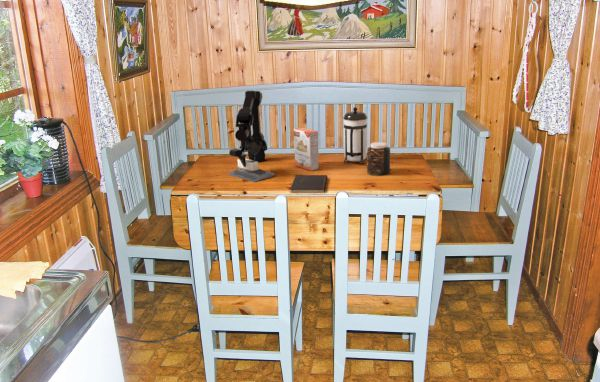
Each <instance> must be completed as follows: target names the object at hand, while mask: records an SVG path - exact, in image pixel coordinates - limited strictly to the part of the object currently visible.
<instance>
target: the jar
mask: <svg viewBox="0 0 600 382" xmlns="http://www.w3.org/2000/svg"><path fill="white" fill-rule="evenodd" d="M366 157H367V160H366V173H367V174H368V175H370V176H385V175H389V174H390V173H391V148H390V147H389V146H388V143H387V142H384V141H378V142H377V141H376V142H375V141H374V142H371V143H370V146H369V147H367V148H366Z"/></svg>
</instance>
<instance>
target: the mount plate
mask: <svg viewBox="0 0 600 382" xmlns="http://www.w3.org/2000/svg"><path fill="white" fill-rule="evenodd" d="M227 174H228V176H232V177H235V178H238V179H241V180H245V181H248V182H252V183H256V182H259V181H262V180H267V179H270V178H272V177H276V173H273V172H271V171H268V170H264V169H260V168H259V169H258V170H254V171H251V170H247V169H244V168H240V169H239V168H234V169H233V171H229V172H228V173H227Z"/></svg>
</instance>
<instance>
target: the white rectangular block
mask: <svg viewBox="0 0 600 382" xmlns="http://www.w3.org/2000/svg"><path fill="white" fill-rule="evenodd" d="M245 161H246V167H244V166H243V164H242V163H241V161H240V159H239V158H238V159H237V168H240V169H243V168H244V169H247V170H251V171H254V170H258V169H260V168H259V162H257V161H253V160H249V158H245Z"/></svg>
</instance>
